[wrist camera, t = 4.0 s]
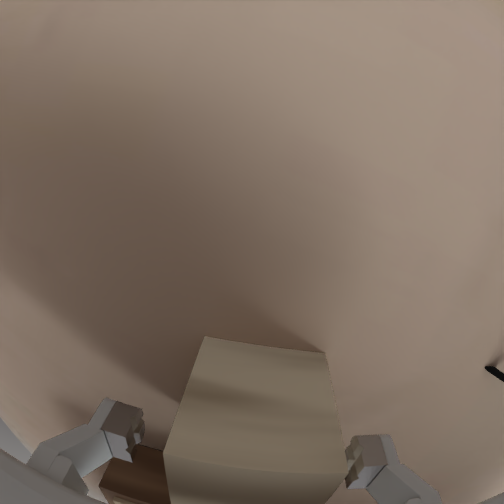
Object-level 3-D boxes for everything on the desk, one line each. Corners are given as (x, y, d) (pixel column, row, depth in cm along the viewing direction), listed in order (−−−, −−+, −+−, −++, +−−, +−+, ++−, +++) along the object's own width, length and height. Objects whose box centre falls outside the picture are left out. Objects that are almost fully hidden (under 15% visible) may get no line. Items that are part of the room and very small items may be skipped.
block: (298, 427, 14) (302, 528, 8) (200, 414, 14) (173, 513, 8) (324, 352, 12) (348, 473, 6) (204, 335, 12) (162, 453, 6)
